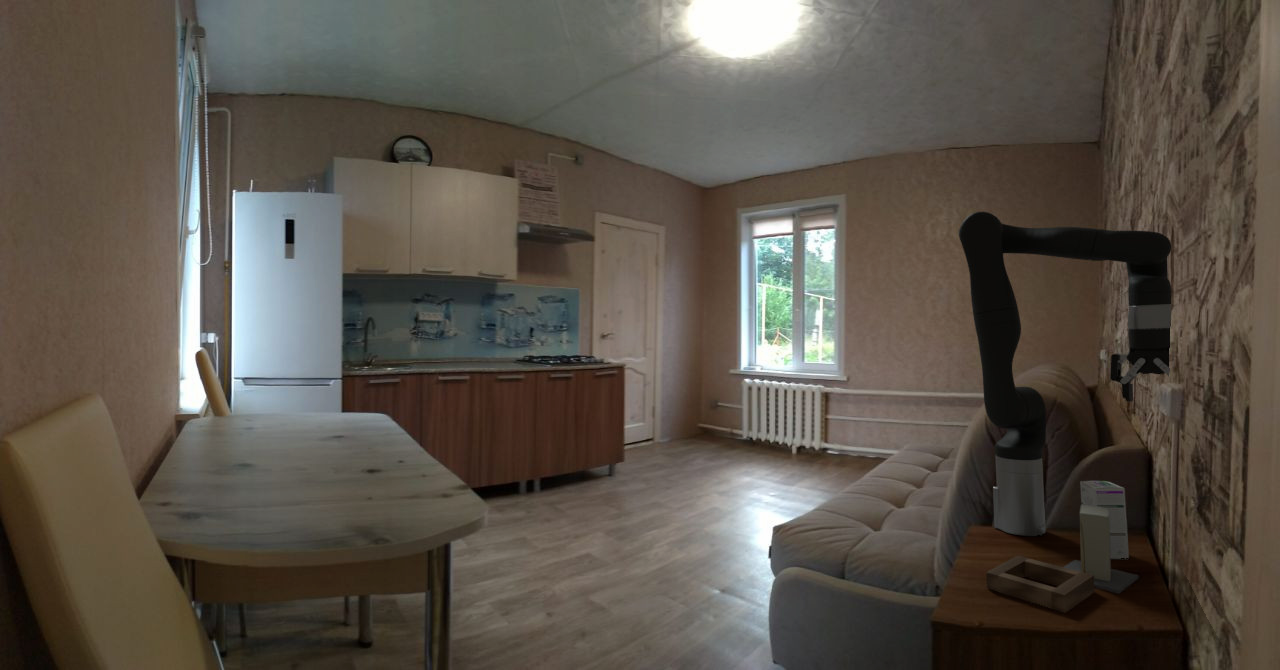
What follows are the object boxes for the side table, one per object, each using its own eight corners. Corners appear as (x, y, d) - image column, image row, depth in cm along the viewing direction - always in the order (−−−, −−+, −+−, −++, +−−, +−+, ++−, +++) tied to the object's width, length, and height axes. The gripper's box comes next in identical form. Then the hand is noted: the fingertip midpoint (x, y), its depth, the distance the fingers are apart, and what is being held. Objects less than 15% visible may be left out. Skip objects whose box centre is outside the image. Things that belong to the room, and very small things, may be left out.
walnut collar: (987, 588, 108) (986, 572, 108) (1018, 570, 115) (1017, 555, 115) (1065, 613, 98) (1064, 595, 98) (1094, 592, 105) (1093, 575, 105)
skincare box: (1083, 566, 115) (1080, 503, 115) (1112, 571, 112) (1109, 507, 112) (1081, 577, 110) (1078, 512, 110) (1111, 582, 107) (1108, 515, 107)
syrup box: (1130, 559, 118) (1127, 487, 118) (1096, 558, 119) (1093, 487, 119) (1113, 549, 124) (1110, 480, 124) (1081, 548, 125) (1078, 480, 125)
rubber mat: (1053, 576, 112) (1053, 572, 112) (1075, 562, 118) (1075, 559, 118) (1118, 593, 104) (1118, 590, 104) (1138, 578, 109) (1138, 575, 109)
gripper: (1201, 324, 122) (1204, 403, 122) (1116, 327, 134) (1119, 398, 134) (1190, 325, 118) (1193, 406, 118) (1103, 328, 130) (1107, 401, 130)
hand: (1154, 402), depth 126 cm, fingers open, 8 cm apart
